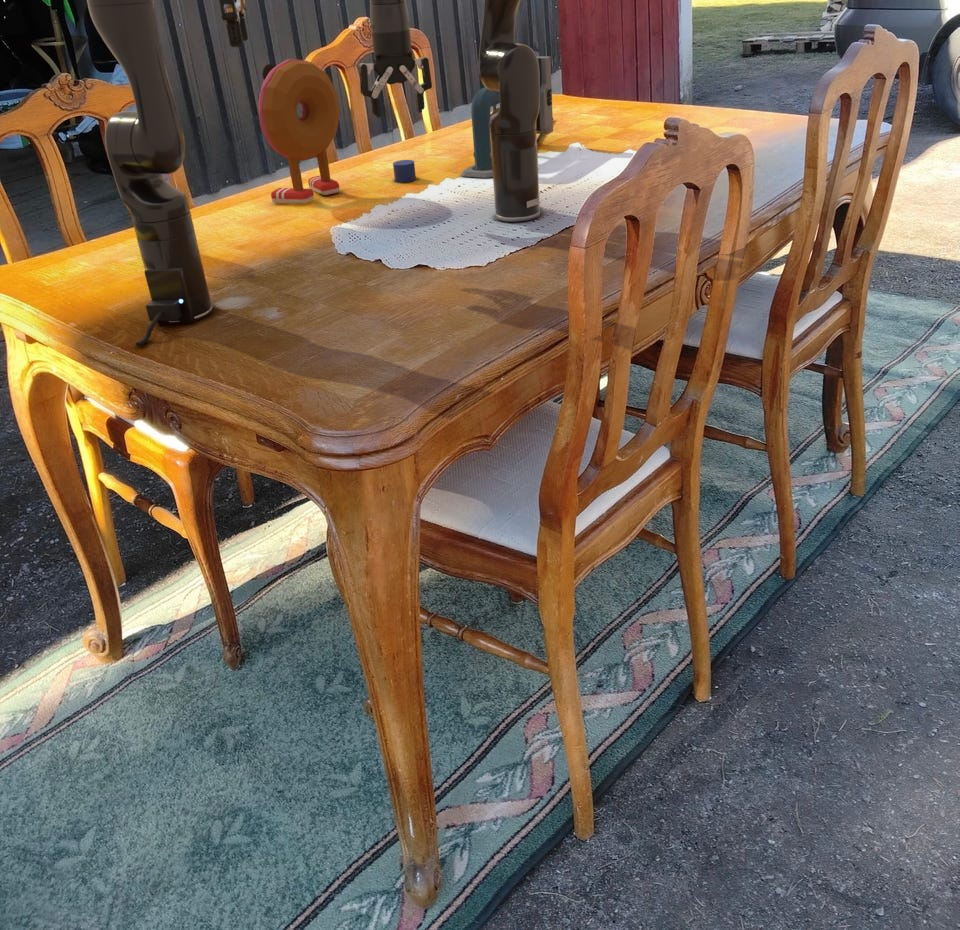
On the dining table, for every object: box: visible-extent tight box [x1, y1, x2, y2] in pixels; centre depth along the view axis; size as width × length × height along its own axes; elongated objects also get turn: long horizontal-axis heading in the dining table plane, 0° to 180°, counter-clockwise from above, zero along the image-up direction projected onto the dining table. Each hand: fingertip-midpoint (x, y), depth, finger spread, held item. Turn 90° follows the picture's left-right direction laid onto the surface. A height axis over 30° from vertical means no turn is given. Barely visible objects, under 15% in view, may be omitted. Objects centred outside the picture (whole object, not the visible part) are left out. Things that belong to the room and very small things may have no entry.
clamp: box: [460, 55, 554, 179], centre depth 237 cm, size 35×9×21 cm, turn 151°
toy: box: [257, 58, 341, 205], centre depth 218 cm, size 21×10×30 cm, turn 141°
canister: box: [392, 159, 417, 184], centre depth 232 cm, size 5×5×4 cm
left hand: (239, 43), depth 173 cm, fingers open, 8 cm apart
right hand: (399, 114), depth 197 cm, fingers open, 8 cm apart
